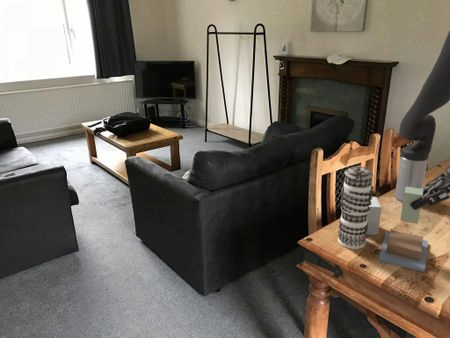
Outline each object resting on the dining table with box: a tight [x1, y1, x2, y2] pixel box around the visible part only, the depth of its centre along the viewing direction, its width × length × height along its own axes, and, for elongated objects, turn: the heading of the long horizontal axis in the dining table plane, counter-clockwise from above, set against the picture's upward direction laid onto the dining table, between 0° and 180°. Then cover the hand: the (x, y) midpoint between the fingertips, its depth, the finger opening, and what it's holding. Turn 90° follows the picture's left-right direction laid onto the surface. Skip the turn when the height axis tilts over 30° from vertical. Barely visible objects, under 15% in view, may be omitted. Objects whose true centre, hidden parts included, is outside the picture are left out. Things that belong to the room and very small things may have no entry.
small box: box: [366, 196, 382, 236], centre depth 121 cm, size 8×6×10 cm
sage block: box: [399, 187, 423, 225], centre depth 104 cm, size 4×4×9 cm
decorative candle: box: [337, 165, 374, 250], centre depth 112 cm, size 9×9×25 cm
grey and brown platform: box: [378, 229, 428, 273], centre depth 109 cm, size 16×12×4 cm
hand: (413, 203), depth 104 cm, fingers closed on sage block, 4 cm apart
